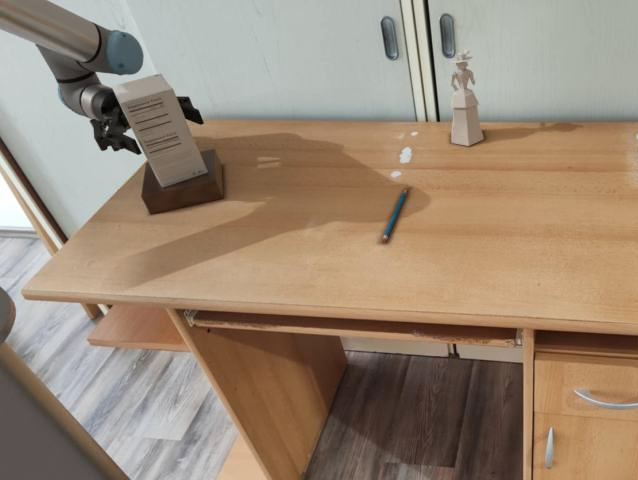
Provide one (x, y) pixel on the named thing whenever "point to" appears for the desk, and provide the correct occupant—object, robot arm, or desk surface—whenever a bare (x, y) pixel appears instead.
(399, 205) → the pencil
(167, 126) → the supplement box
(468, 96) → the figurine
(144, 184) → the block
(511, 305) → the desk surface
